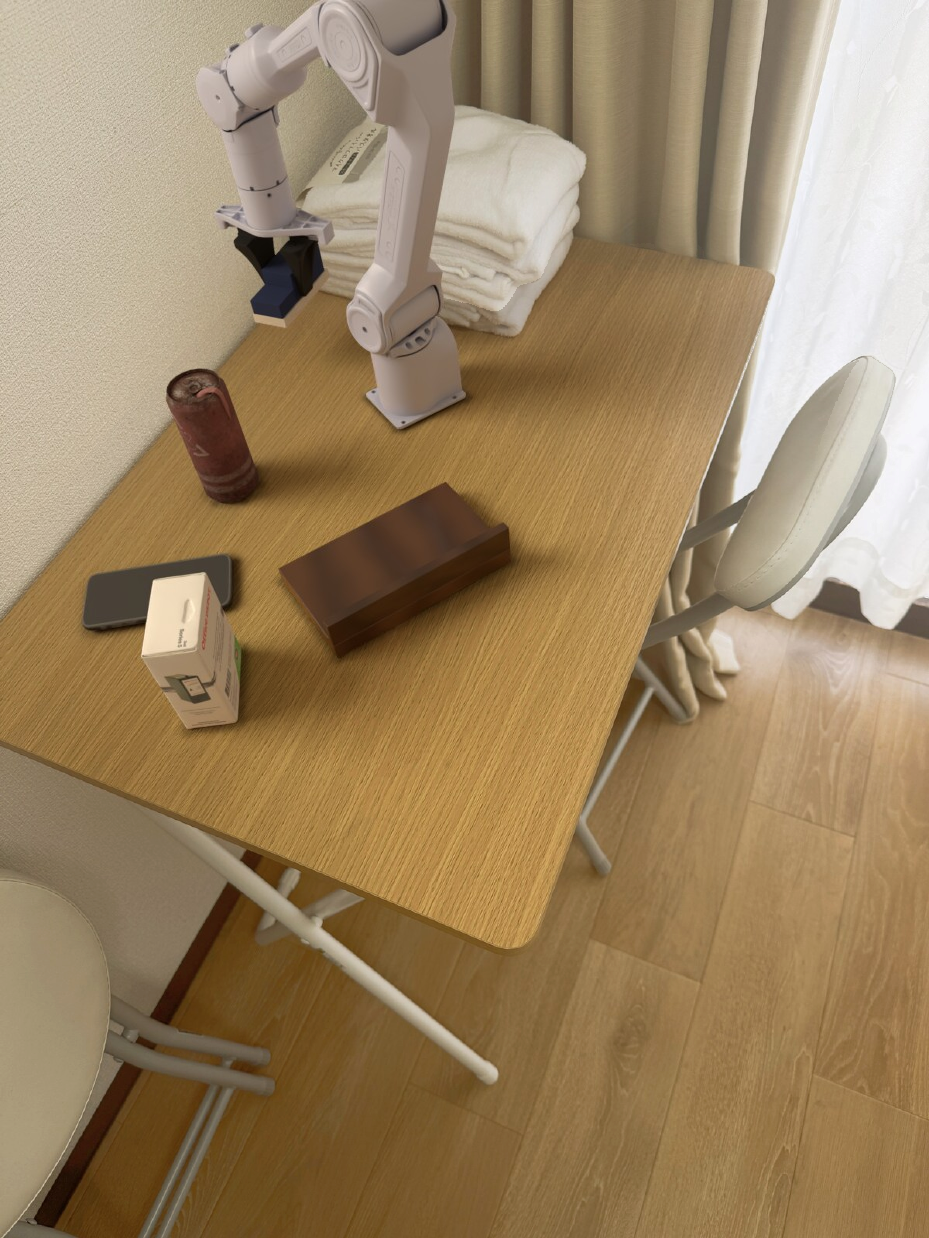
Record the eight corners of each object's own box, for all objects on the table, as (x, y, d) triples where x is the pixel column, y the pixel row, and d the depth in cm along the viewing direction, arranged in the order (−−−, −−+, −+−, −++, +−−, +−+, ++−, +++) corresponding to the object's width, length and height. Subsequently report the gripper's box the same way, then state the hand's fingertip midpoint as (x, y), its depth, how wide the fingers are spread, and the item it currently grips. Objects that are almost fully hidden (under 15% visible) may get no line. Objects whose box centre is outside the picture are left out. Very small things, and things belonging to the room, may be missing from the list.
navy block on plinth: (299, 272, 115) (290, 236, 112) (329, 277, 114) (321, 241, 110) (255, 322, 109) (244, 286, 106) (286, 328, 108) (276, 292, 104)
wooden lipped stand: (447, 494, 98) (442, 460, 95) (511, 561, 92) (509, 527, 88) (282, 581, 93) (270, 548, 89) (338, 659, 86) (327, 627, 82)
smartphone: (231, 605, 90) (79, 629, 90) (233, 610, 91) (82, 635, 91) (231, 550, 95) (86, 573, 94) (234, 556, 96) (90, 579, 95)
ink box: (193, 654, 88) (149, 576, 79) (244, 648, 88) (206, 568, 79) (185, 730, 83) (137, 656, 74) (239, 724, 83) (198, 649, 74)
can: (251, 507, 100) (212, 406, 89) (197, 502, 101) (152, 402, 90) (269, 469, 103) (234, 367, 92) (217, 464, 104) (176, 363, 93)
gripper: (336, 167, 100) (358, 279, 111) (224, 153, 104) (256, 262, 115) (305, 200, 96) (331, 313, 107) (191, 184, 100) (227, 294, 111)
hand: (290, 289), depth 111 cm, fingers closed on navy block on plinth, 4 cm apart
